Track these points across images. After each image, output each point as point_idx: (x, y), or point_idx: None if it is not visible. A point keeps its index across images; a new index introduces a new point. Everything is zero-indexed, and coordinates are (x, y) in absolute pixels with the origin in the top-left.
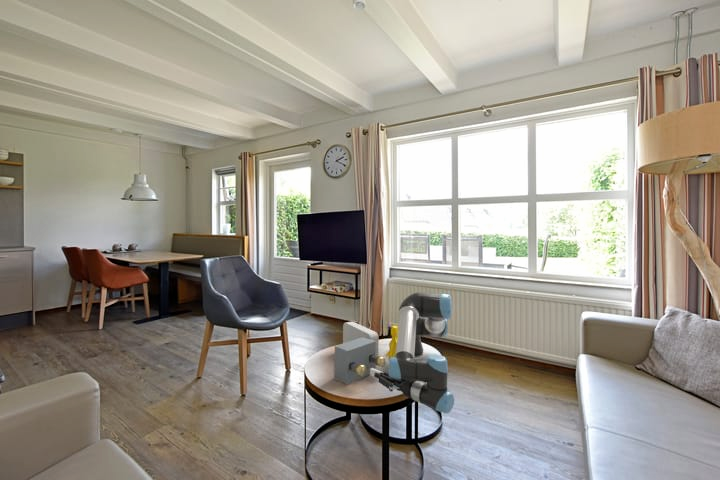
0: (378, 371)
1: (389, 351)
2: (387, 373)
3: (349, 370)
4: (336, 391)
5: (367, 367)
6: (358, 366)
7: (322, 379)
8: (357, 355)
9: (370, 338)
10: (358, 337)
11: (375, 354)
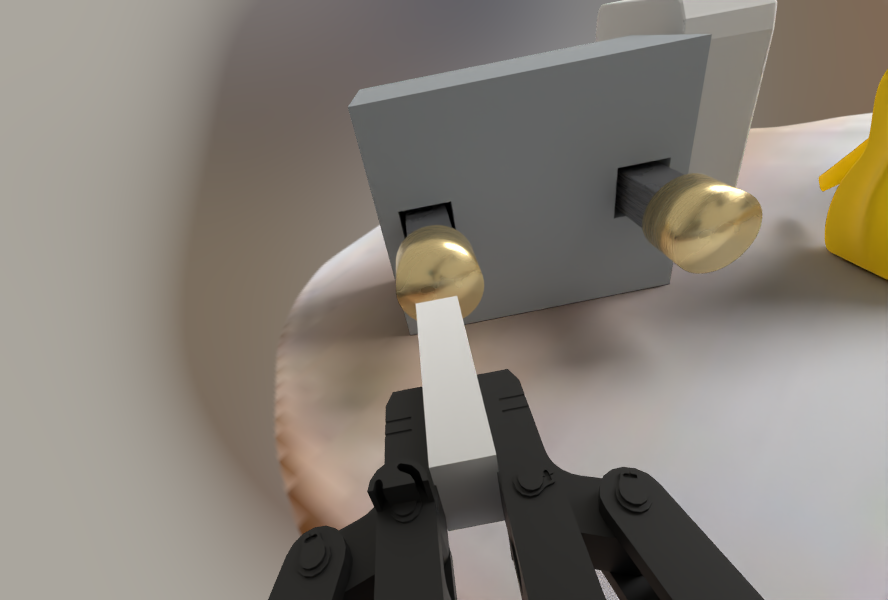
0: (444, 393)
1: (862, 153)
2: (552, 536)
3: None
4: (307, 366)
5: (595, 251)
6: (408, 245)
7: (360, 270)
8: (478, 155)
9: (682, 32)
10: None
11: (713, 167)
